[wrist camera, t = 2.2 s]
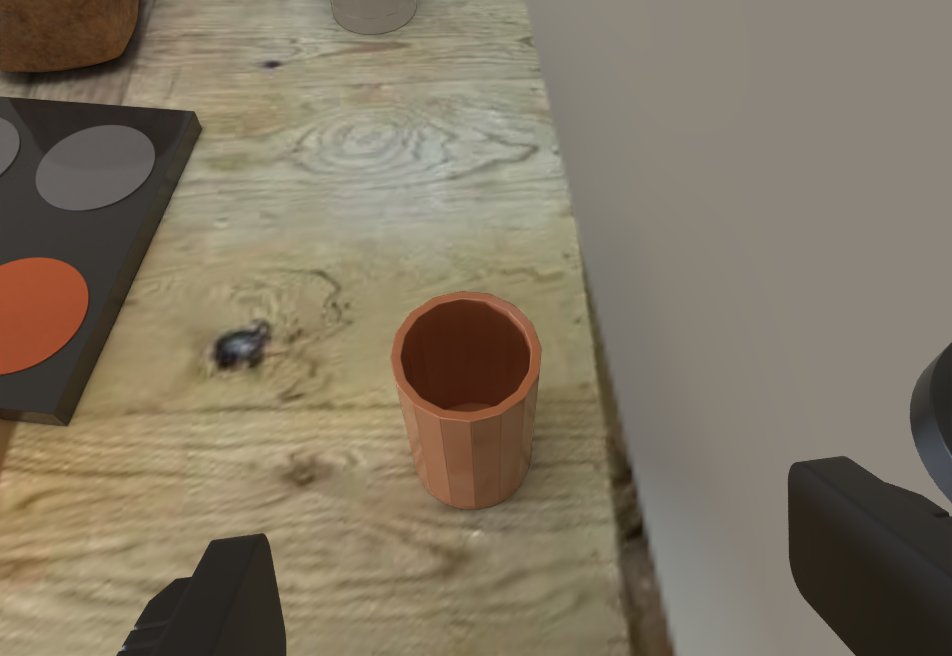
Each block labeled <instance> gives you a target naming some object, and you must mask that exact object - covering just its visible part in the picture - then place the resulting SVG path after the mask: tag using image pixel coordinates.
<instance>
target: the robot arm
mask: <svg viewBox="0 0 952 656" xmlns="http://www.w3.org/2000/svg"><path fill="white" fill-rule="evenodd" d="M788 521H789V560H790V566H791V571H792V574H793V577H794V580H795V583H796V585H797V587H798V589H799V591H800V593H801V594H802V596H803V597H804V599H805V600H806V601H807V602H808V603H809V604H810V605H811V606H812V608H813V609H814V610H815V611H816V612H817V613H818V614H819V615H820V617H821V618H822V619H823V620H824V621H825V622H826V623H827V624H828V625H829V626H830V627H831V628H832V630H833V631H834V632H835V633H836V634H837V635H838V636H839V638H840V639H841V640H842V641H843V642H844V643H845V644H846V645H847V646H848V648H849V649H850V650H851V651H852V652H853V653H854V654H855V655H856V656H952V517H950V516H949V513H948V512H947V511H945V510H944V509H942V508H941V507H939V506H938V505H936V504H935V503H933V502H932V501H930V500H929V499H927V498H925V497H924V496H922V495H920V494H917V493H914V492H912V491H909V490H906V489H903V488H901V487H898V486H895V485H892V484H889V483H886V482H883V481H882V480H880V479H879V478H877V477H876V476H875V475H873V474H872V473H870V472H869V471H867V470H866V469H864V468H863V467H861V466H860V465H858V464H857V463H855V462H854V461H852V460H851V459H849V458H847V457H844V456H839V457H832V458H825V459H818V460H810V461H803V462H796V463H794V464H793V465H792V466H791V468H790V471H789V475H788ZM134 627H135V629H134V630H133V631H131V632H130V634H129V636H128V637H127V639H126V641H125V642H124V644H123V646H122V651H119V652H118V654H117V656H286V634H285V626H284V620H283V615H282V609H281V604H280V598H279V593H278V587H277V582H276V577H275V571H274V566H273V560H272V555H271V550H270V545H269V542H268V539H267V537H266V535H265V534H263V533H261V534H254V535H247V536H239V537H232V538H224V539H217V540H212V541H211V542H210V544H209V545H208V547H207V549H206V551H205V553H204V555H203V557H202V559H201V560H200V562H199V564H198V566H197V568H196V570H195V572H194V574H193V575H192V577H187V578H180V579H175V580H174V581H173V582H172V583H171V584H169V585H168V586H167V587H166V588H165V589H163V590H162V591H161V592H160V593H159V594H157V595H156V596H155V597H154V598H153V599H151V600H150V601H149V602H148V604H147V606H146V607H145V609H144V611H143V612H142V614H141V616H140V617H139V619H138V621H137V622H136V624H135V626H134Z"/></svg>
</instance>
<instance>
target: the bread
mask: <svg viewBox="0 0 952 656" xmlns="http://www.w3.org/2000/svg"><path fill="white" fill-rule="evenodd" d="M138 5H139V0H0V70H2V71H9V72H49V71H60V70H68V69H74V68H80V67H86V66H90V65H94V64H98V63H102V62H106V61H109V60H111V59H114V58H117V57H119V56H120V55H121V54H122V52H123V51H124V49H125V47H126V45H127V43H128V41H129V39H130V37H131V35H132V33H133V31H134V29H135V26H136V21H137V16H138Z"/></svg>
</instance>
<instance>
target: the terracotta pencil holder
mask: <svg viewBox="0 0 952 656" xmlns="http://www.w3.org/2000/svg"><path fill="white" fill-rule="evenodd" d="M541 351H542V349H541V345H540V342H539V340H538V337H537V334H536V331H535V329H534V326H533V324H532V323H531V322H530V321H529V320H528V319H527V318H526V317H525V316H524V315H523V314H522V313H521V312H520V310H519V309H518V308H517V307H516V306H514V305H513V304H511V303H509V302H506V301H504V300H502V299H500V298H498V297H495V296H493V295H491V294H487V293H476V292H466V291H462V292H461V291H460V292H456V293H451V294H447V295H443V296H439V297H435V298H433V299H431V300H430V301H428V302H426V303H425V304H423V305H422V306H420V307H419V308H417V309H415V310H414V311H412V313H410V315H409V316H408V317H407V319H406V320H405V321H404V323H403V324H402V326H401V327H400V328H399V330H398V331H397V332H396V334H395V338H394V343H393V348H392V352H391V357H390V358H391V359H390V360H391V365H392V369H393V373H394V378H395V382H396V386H397V390H398V395H399V399H400V403H401V408H402V412H403V416H404V420H405V425H406V429H407V433H408V438H409V442H410V446H411V450H412V455H413V459H414V463H415V467H416V471H417V474H418V476H419V478H420V480H421V482H422V483H423V485H424V486H425V488H426V489H427V490H428V491H429V492H430V493H431V494H432V495H433V496H434V497H435V498H437V499H438V500H440V501H442V502H443V503H445V504H448V505H450V506H453V507H456V508H461V509H482V508H487V507H490V506H493V505H496V504H498V503H500V502H502V501H503V500H505V499H506V498H508V497H509V496H510V495H512V494H513V493H514V492H515V491H516V490H517V488H518V487H519V486H520V485H521V483H522V481H523V480H524V478H525V476H526V474H527V471H528V467H529V465H530V455H531V446H532V437H533V428H534V418H535V409H536V400H537V391H538V381H539V372H540V361H541Z"/></svg>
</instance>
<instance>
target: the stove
mask: <svg viewBox="0 0 952 656" xmlns="http://www.w3.org/2000/svg"><path fill="white" fill-rule="evenodd" d="M201 129H202V128H201V125H200V123H199V121H198V118H197V116H196V114H195V112H194V111H183V110H170V109H156V108H143V107H130V106H117V105H103V104H90V103H77V102H63V101H50V100H37V99H24V98H10V97H0V419H9V420H17V421H26V422H35V423H44V424H53V425H62V426H67V425H68V423H69V420H70V418H71V416H72V414H73V412H74V409H75V407H76V405H77V403H78V400H79V398H80V396H81V394H82V392H83V389H84V387H85V385H86V383H87V381H88V378H89V376H90V374H91V372H92V370H93V367H94V365H95V363H96V361H97V359H98V356H99V354H100V352H101V350H102V348H103V345H104V343H105V341H106V339H107V336H108V334H109V332H110V330H111V328H112V325H113V323H114V321H115V319H116V317H117V314H118V312H119V310H120V308H121V306H122V303H123V301H124V299H125V297H126V295H127V292H128V290H129V288H130V286H131V284H132V281H133V279H134V277H135V275H136V272H137V270H138V268H139V266H140V264H141V261H142V259H143V257H144V255H145V253H146V250H147V248H148V246H149V244H150V242H151V239H152V237H153V235H154V233H155V231H156V228H157V226H158V224H159V222H160V219H161V217H162V215H163V213H164V211H165V208H166V206H167V204H168V202H169V200H170V197H171V195H172V193H173V191H174V189H175V186H176V184H177V182H178V180H179V178H180V175H181V173H182V171H183V169H184V167H185V164H186V162H187V160H188V158H189V155H190V153H191V151H192V149H193V147H194V144H195V142H196V140H197V138H198V136H199V133H200V131H201Z"/></svg>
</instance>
